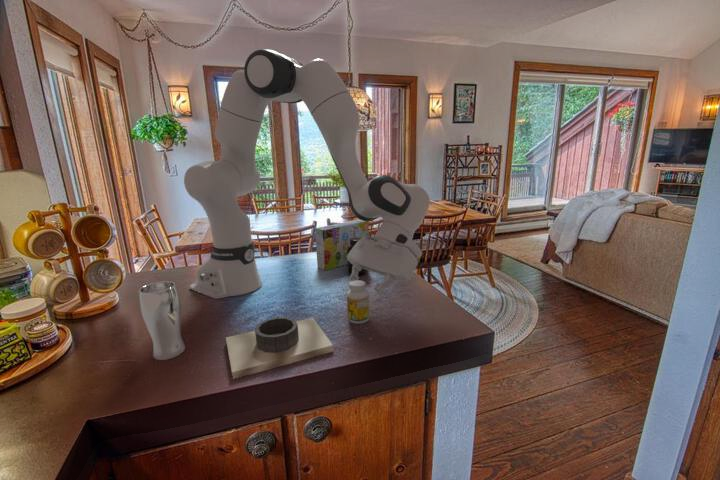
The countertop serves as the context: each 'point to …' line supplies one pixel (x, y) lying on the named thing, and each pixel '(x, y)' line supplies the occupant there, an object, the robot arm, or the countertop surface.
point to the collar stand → (276, 345)
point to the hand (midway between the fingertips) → (364, 286)
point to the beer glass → (162, 318)
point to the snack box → (337, 242)
